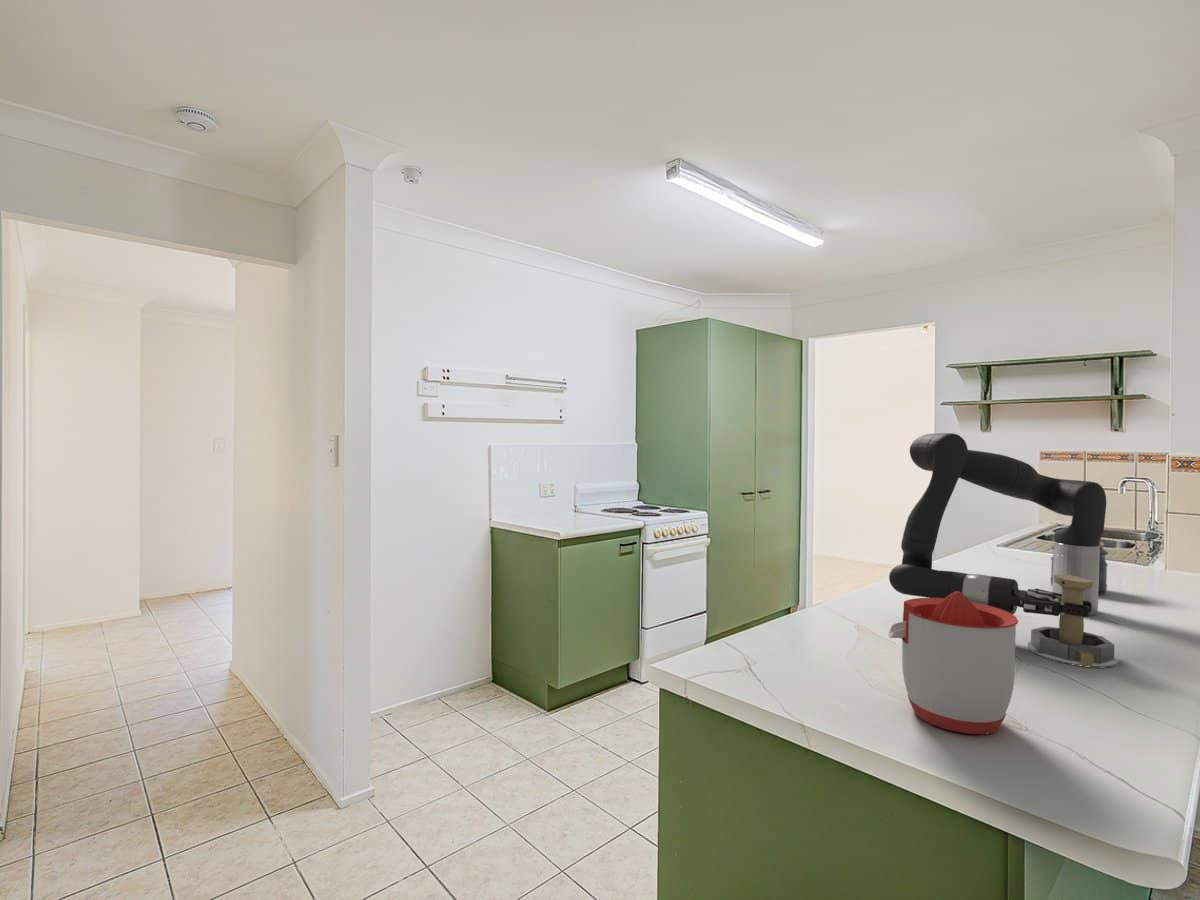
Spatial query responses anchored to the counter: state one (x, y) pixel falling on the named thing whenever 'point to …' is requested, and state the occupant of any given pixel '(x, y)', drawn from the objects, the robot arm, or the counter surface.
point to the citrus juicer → (957, 661)
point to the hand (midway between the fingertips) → (1089, 609)
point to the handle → (1073, 594)
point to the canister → (1102, 569)
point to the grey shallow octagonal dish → (1072, 648)
